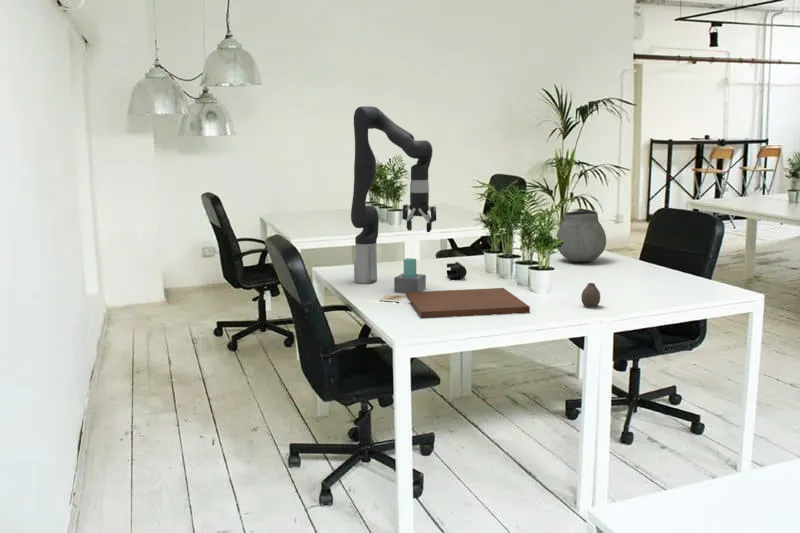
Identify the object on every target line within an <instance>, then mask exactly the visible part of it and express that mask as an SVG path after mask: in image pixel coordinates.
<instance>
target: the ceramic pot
mask: <svg viewBox="0 0 800 533" xmlns="http://www.w3.org/2000/svg"><path fill="white" fill-rule="evenodd" d="M562 216H563V221H562V223H561V225H559V228H558V230H557V231H556V232H557V233H556V235H555V238H556V237H557V238H560V239H562V240H563V241H564V243H563V245H562V246H561V247H559V248H558V249H557V250H558V252H559V254H560V255H562V257H564V258H565V259H566V260H568V261H569V262H572V263H589V262H593V261H596V260H597V259H598V258H599V257H600V256H601V255H602V254H603V253H604V251H605V249H606V246H607V236H606V231H605V229H604V227H603V226H602V224H601V222H600V221H599V217H598V216H599V215H598V211H595V210H577V211H569V212H565V213H563V215H562Z"/></svg>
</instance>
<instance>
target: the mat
mask: <svg viewBox="0 0 800 533" xmlns="http://www.w3.org/2000/svg"><path fill="white" fill-rule="evenodd" d="M405 297H406V295H398V294H397V295H396V294H386V295H384V296H382V297H380V298H379V302H381V301H384V303H393V302H395V303H396V304H400V303H399V302H400V300H402V299H404V298H405ZM406 298H407V297H406Z"/></svg>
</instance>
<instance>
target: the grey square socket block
mask: <svg viewBox="0 0 800 533" xmlns="http://www.w3.org/2000/svg"><path fill="white" fill-rule="evenodd" d="M393 279H394V280H393V281H394V282H393V285H394V286H393V290H394V291H393V293H399V294H406V292H422V291H425V290H427V281H426V280H427V276H426V274H422V273H416V277H414V278H410V277H404V272H403V273H400V274H399V275H396V276H394V277H393Z"/></svg>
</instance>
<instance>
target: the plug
mask: <svg viewBox="0 0 800 533" xmlns="http://www.w3.org/2000/svg"><path fill="white" fill-rule="evenodd" d="M403 273H404V277H410V278H414V277H416V274H417V258H413V257H412V258H409V257H407V258H405V259H403Z"/></svg>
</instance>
